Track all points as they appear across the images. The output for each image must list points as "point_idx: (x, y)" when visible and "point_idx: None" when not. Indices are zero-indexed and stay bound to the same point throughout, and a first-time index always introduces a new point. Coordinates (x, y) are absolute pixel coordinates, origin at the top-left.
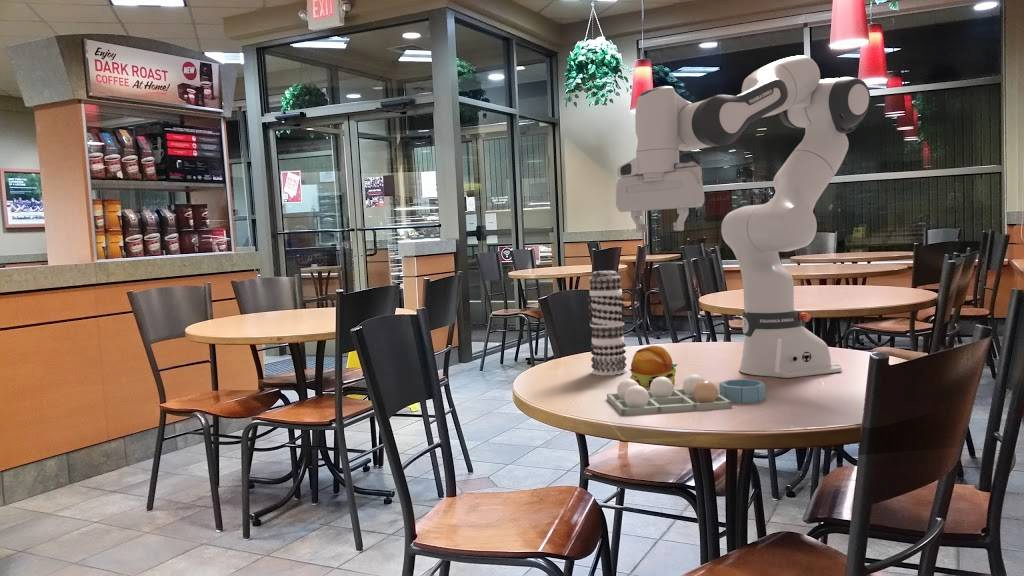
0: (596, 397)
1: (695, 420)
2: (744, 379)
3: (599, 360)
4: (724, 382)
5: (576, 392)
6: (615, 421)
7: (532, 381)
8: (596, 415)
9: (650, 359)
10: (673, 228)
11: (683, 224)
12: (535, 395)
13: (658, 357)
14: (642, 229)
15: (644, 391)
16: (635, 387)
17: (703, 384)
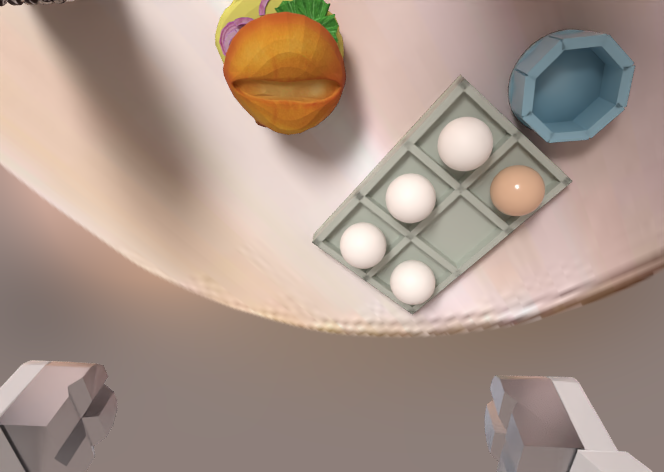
0: (264, 210)
1: (524, 257)
2: (568, 43)
3: (40, 2)
4: (531, 105)
5: (197, 196)
6: (409, 317)
7: (25, 160)
8: (359, 305)
9: (311, 119)
10: (490, 447)
11: (599, 431)
12: (158, 253)
13: (313, 85)
14: (103, 423)
15: (432, 290)
16: (418, 301)
17: (525, 212)
